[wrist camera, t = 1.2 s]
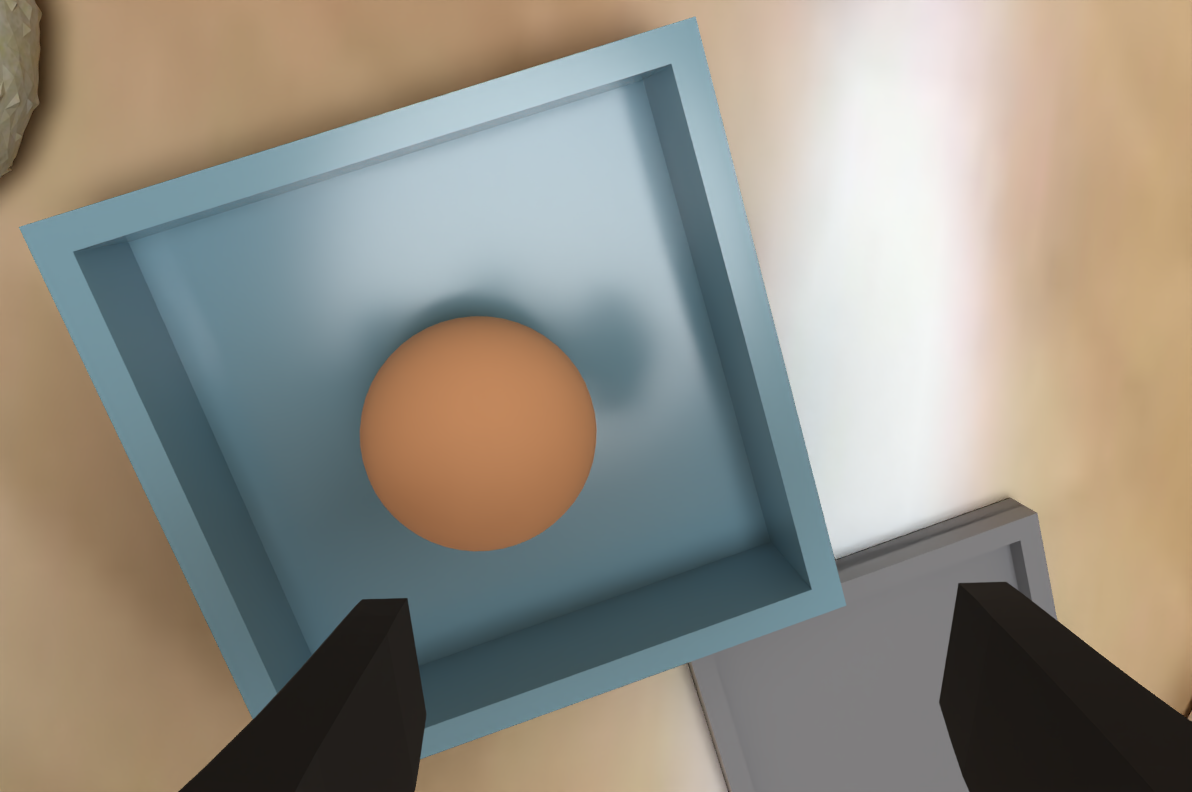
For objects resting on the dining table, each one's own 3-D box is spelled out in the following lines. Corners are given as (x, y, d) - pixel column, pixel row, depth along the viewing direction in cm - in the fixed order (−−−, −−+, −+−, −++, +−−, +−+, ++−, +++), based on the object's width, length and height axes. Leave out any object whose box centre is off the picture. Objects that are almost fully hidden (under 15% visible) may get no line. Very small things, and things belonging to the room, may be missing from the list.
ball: (414, 530, 22) (401, 627, 17) (340, 341, 21) (302, 388, 16) (606, 465, 22) (645, 541, 18) (544, 274, 21) (568, 300, 16)
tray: (771, 928, 27) (785, 961, 26) (673, 617, 24) (684, 639, 23) (1071, 813, 28) (1098, 840, 27) (1010, 498, 25) (1037, 512, 24)
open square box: (318, 715, 23) (293, 804, 20) (94, 220, 20) (18, 227, 17) (793, 547, 24) (846, 605, 21) (657, 43, 21) (695, 16, 17)
